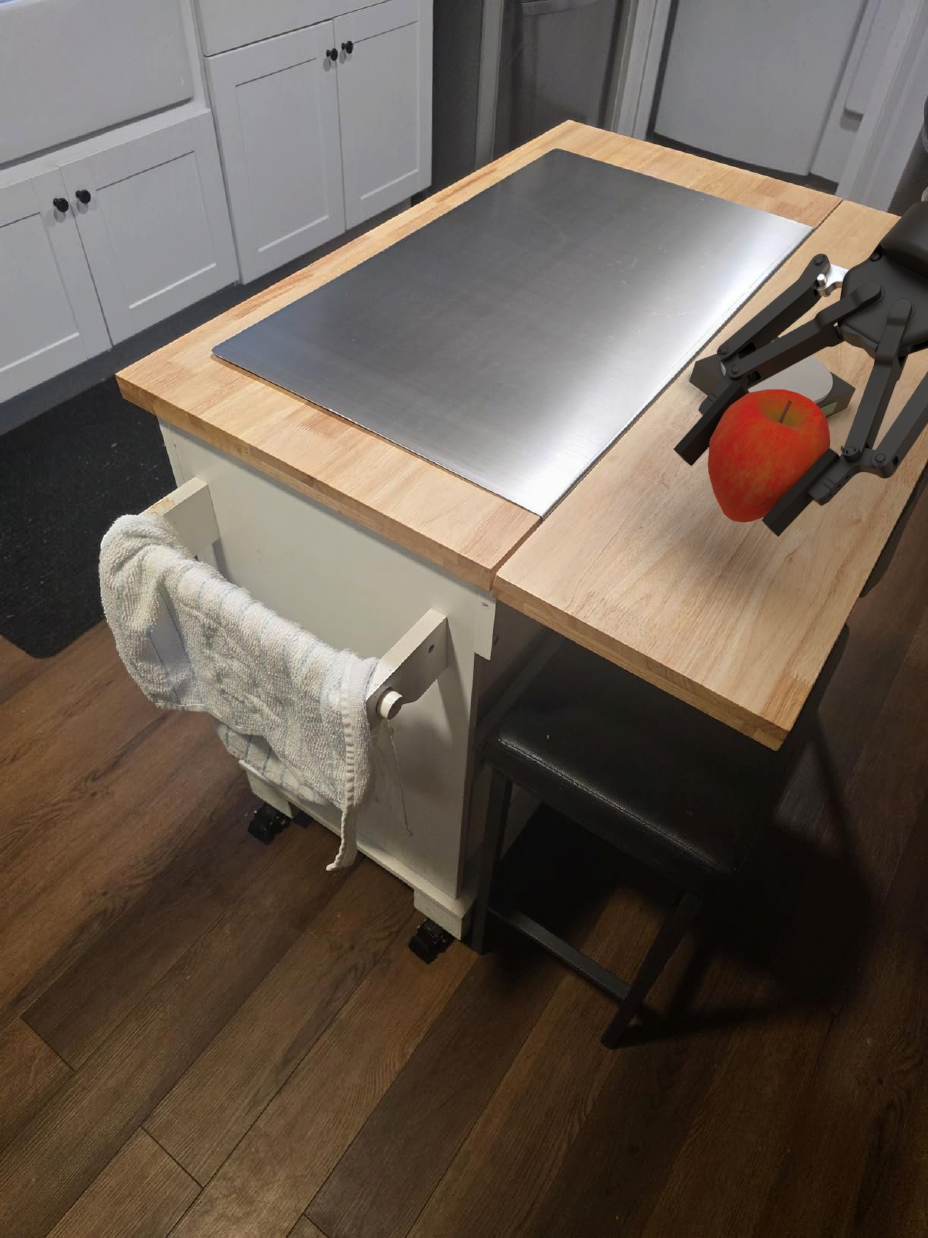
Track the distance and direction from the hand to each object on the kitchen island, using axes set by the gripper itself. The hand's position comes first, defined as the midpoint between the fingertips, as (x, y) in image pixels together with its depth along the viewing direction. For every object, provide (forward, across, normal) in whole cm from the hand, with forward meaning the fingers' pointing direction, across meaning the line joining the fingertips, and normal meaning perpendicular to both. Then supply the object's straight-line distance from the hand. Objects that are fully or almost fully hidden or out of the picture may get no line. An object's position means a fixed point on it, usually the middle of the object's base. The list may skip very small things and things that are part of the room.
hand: (724, 491), depth 64 cm
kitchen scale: (-12, +17, -29) cm, 36 cm away
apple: (+1, 0, -5) cm, 5 cm away
